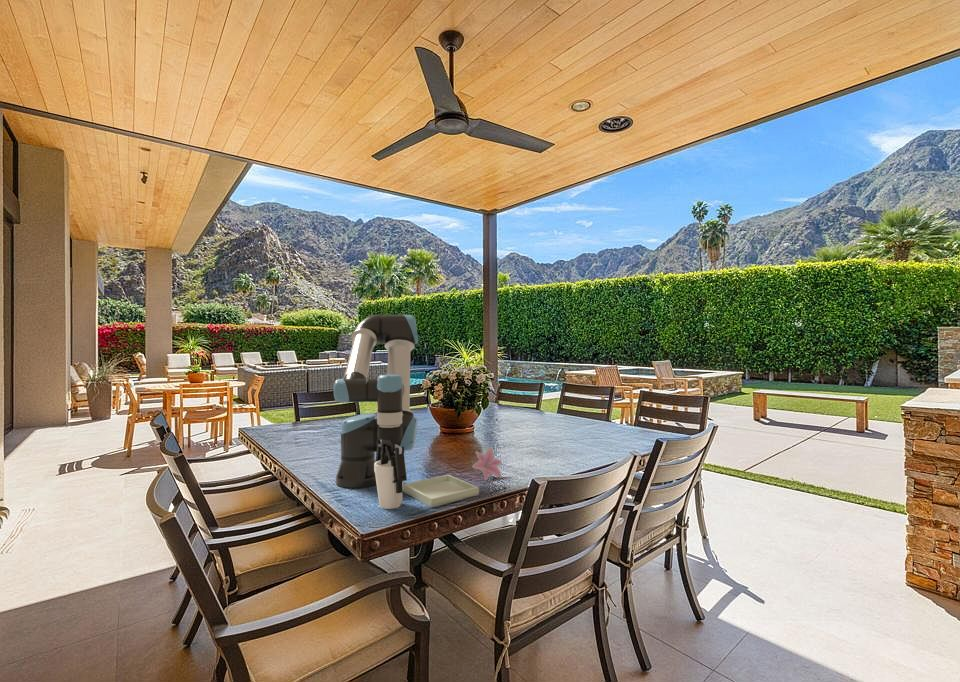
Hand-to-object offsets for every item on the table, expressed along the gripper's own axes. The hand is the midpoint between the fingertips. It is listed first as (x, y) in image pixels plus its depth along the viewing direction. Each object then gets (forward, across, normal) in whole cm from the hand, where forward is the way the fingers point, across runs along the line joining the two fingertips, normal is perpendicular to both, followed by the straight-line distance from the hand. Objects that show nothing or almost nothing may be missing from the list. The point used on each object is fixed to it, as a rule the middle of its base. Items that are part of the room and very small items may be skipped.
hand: (390, 498), depth 141 cm
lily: (+2, +5, -42) cm, 42 cm away
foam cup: (+2, 0, 0) cm, 2 cm away
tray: (+2, 0, -18) cm, 18 cm away
